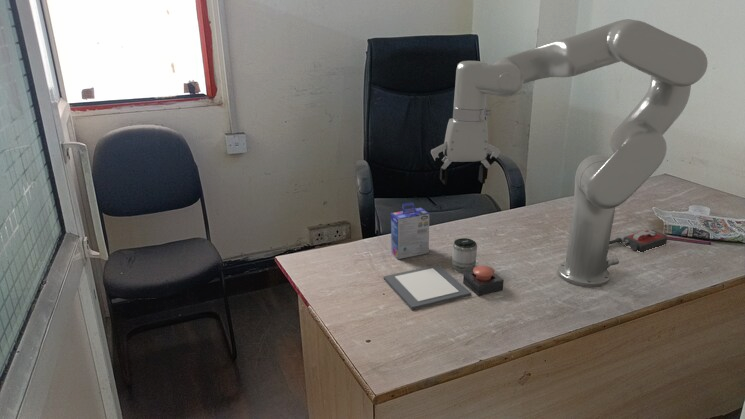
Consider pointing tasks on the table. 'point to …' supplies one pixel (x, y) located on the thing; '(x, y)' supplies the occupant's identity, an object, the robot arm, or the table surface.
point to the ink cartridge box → (409, 232)
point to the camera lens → (464, 255)
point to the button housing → (483, 284)
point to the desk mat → (426, 287)
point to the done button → (483, 273)
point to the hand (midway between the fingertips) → (463, 182)
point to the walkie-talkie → (641, 240)
